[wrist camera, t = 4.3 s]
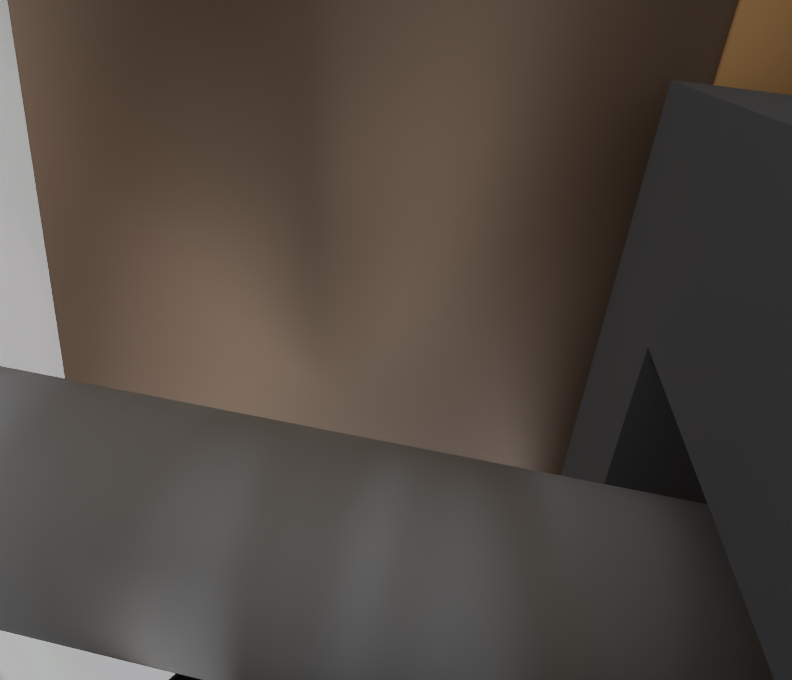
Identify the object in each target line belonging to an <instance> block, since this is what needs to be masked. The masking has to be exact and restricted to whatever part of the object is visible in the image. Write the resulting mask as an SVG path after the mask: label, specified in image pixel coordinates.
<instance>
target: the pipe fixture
mask: <svg viewBox="0 0 792 680" xmlns="http://www.w3.org/2000/svg"><path fill="white" fill-rule="evenodd" d="M8 6H9V12H10V19H11V25H12V32H13V39H14V45H15V52H16V58H17V65H18V71H19V78H20V84H21V91H22V98H23V104H24V111H25V117H26V124H27V130H28V137H29V144H30V150H31V157H32V163H33V170H34V176H35V183H36V189H37V196H38V203H39V209H40V216H41V222H42V229H43V235H44V242H45V248H46V255H47V262H48V268H49V275H50V281H51V288H52V294H53V301H54V307H55V314H56V321H57V327H58V334H59V340H60V347H61V353H62V360H63V366H64V373H65V379H63V378H58V377H52V376H47V375H42V374H37V373H32V372H27V371H22V370H17V369H11V368H6V367H1V366H0V630H2V631H6V632H11V633H15V634H19V635H23V636H27V637H31V638H35V639H39V640H43V641H47V642H51V643H55V644H59V645H63V646H67V647H71V648H76V649H80V650H84V651H88V652H92V653H96V654H100V655H104V656H108V657H112V658H116V659H120V660H124V661H128V662H132V663H136V664H141V665H145V666H149V667H153V668H157V669H161V670H165V671H169V672H173V673H177V674H181V675H185V676H189V677H193V678H197V679H201V680H773V675H772V673H771V670H770V667H769V665H768V662H767V660H766V657H765V654H764V652H763V649H762V646H761V644H760V641H759V638H758V636H757V633H756V631H755V628H754V625H753V623H752V620H751V617H750V615H749V612H748V609H747V607H746V604H745V602H744V599H743V596H742V594H741V591H740V588H739V586H738V583H737V580H736V578H735V575H734V572H733V570H732V567H731V565H730V562H729V559H728V557H727V554H726V551H725V549H724V546H723V543H722V541H721V538H720V536H719V533H718V530H717V528H716V525H715V522H714V520H713V517H712V514H711V512H710V509H709V507H708V504H704V503H699V502H694V501H689V500H683V499H678V498H673V497H668V496H663V495H658V494H653V493H648V492H642V491H637V490H632V489H627V488H622V487H617V486H612V485H607V484H601V483H596V482H591V481H586V480H581V479H576V478H571V477H565V476H561V472H562V469H563V465H564V462H565V458H566V454H567V451H568V447H569V444H570V440H571V436H572V433H573V429H574V426H575V422H576V419H577V415H578V411H579V408H580V404H581V401H582V397H583V393H584V390H585V386H586V383H587V379H588V375H589V372H590V368H591V365H592V361H593V358H594V354H595V350H596V347H597V343H598V340H599V336H600V332H601V329H602V325H603V322H604V318H605V314H606V311H607V307H608V304H609V300H610V296H611V293H612V289H613V286H614V282H615V279H616V275H617V271H618V268H619V264H620V261H621V257H622V253H623V250H624V246H625V243H626V239H627V235H628V232H629V228H630V225H631V221H632V218H633V214H634V210H635V207H636V203H637V200H638V196H639V192H640V189H641V185H642V182H643V178H644V174H645V171H646V167H647V164H648V160H649V157H650V153H651V149H652V146H653V142H654V139H655V135H656V131H657V128H658V124H659V121H660V117H661V113H662V110H663V106H664V103H665V99H666V96H667V92H668V88H669V85H670V81H671V80H675V81H683V82H691V83H699V84H707V85H716V86H724V87H732V88H740V89H748V90H756V91H764V92H772V93H780V94H789V95H792V0H8Z"/></svg>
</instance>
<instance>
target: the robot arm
mask: <svg viewBox="0 0 792 680" xmlns="http://www.w3.org/2000/svg"><path fill="white" fill-rule="evenodd" d="M169 680H201V679H197V678H193V677H189V676H185V675H181V674H177V673H176V674H175V675H174V676H172V677H171V678H170V679H169Z"/></svg>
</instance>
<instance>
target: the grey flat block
mask: <svg viewBox="0 0 792 680" xmlns="http://www.w3.org/2000/svg"><path fill="white" fill-rule="evenodd" d="M561 476H565V477H571V478H576V479H581V480H586V481H591V482H596V483H601V484H607V485H612V486H617V487H622V488H627V489H632V490H637V491H642V492H648V493H653V494H658V495H663V496H668V497H673V498H678V499H683V500H689V501H694V502H699V503H704V504H708V507H709V509H710V512H711V514H712V517H713V520H714V522H715V525H716V528H717V530H718V533H719V536H720V538H721V541H722V543H723V546H724V549H725V551H726V554H727V557H728V559H729V562H730V565H731V567H732V570H733V572H734V575H735V578H736V580H737V583H738V586H739V588H740V591H741V594H742V596H743V599H744V602H745V604H746V607H747V609H748V612H749V615H750V617H751V620H752V623H753V625H754V628H755V631H756V633H757V636H758V638H759V641H760V644H761V646H762V649H763V652H764V654H765V657H766V660H767V662H768V665H769V667H770V670H771V673H772V675H773V680H792V95H789V94H780V93H772V92H764V91H756V90H748V89H740V88H732V87H724V86H716V85H707V84H699V83H691V82H683V81H675V80H671V81H670V85H669V88H668V92H667V96H666V99H665V103H664V106H663V110H662V113H661V117H660V121H659V124H658V128H657V131H656V135H655V139H654V142H653V146H652V149H651V153H650V157H649V160H648V164H647V167H646V171H645V174H644V178H643V182H642V185H641V189H640V192H639V196H638V200H637V203H636V207H635V210H634V214H633V218H632V221H631V225H630V228H629V232H628V235H627V239H626V243H625V246H624V250H623V253H622V257H621V261H620V264H619V268H618V271H617V275H616V279H615V282H614V286H613V289H612V293H611V296H610V300H609V304H608V307H607V311H606V314H605V318H604V322H603V325H602V329H601V332H600V336H599V340H598V343H597V347H596V350H595V354H594V358H593V361H592V365H591V368H590V372H589V375H588V379H587V383H586V386H585V390H584V393H583V397H582V401H581V404H580V408H579V411H578V415H577V419H576V422H575V426H574V429H573V433H572V436H571V440H570V444H569V447H568V451H567V454H566V458H565V462H564V465H563V469H562V472H561Z"/></svg>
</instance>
